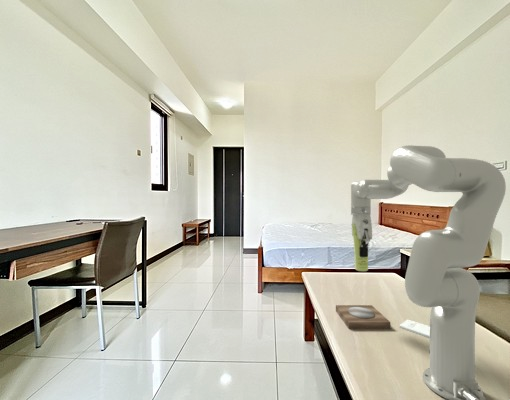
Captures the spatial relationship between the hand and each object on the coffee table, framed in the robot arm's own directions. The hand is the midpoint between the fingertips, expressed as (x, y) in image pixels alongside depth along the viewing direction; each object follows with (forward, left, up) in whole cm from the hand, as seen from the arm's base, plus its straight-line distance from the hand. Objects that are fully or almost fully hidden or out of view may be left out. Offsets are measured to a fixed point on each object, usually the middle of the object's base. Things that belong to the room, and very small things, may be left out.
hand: (361, 254), depth 107 cm
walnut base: (0, 0, -27) cm, 27 cm away
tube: (0, 0, -7) cm, 7 cm away
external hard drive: (-9, -19, -28) cm, 35 cm away
